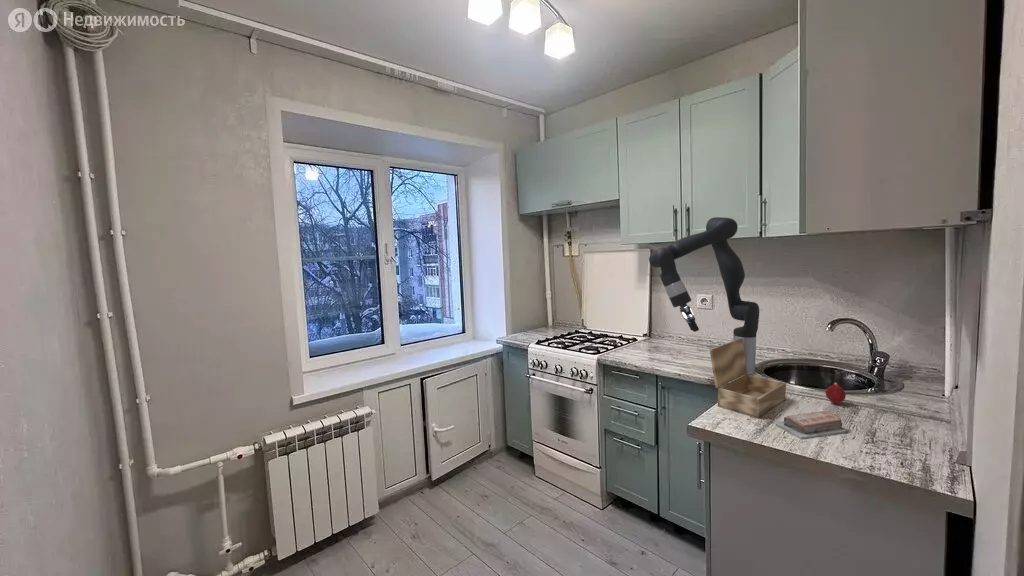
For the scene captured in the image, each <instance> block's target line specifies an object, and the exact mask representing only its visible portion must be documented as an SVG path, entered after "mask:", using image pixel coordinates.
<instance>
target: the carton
mask: <svg viewBox="0 0 1024 576" xmlns="http://www.w3.org/2000/svg"><path fill="white" fill-rule="evenodd" d="M786 395H787V382H784V381H780V380H779V381H778V380H774V379H772V378H766V377H761V376H756V375H753V374H745V375H743V376H741V377H739V378H737V379H735V380H733V381H731V382H729V383H727V384H725V385H723V386H721V387H719V388H717V407H718V408H722V409H724V410H725V409H726V410H729V411H732V412H734V413H739V414H741V415H745V416H747V417H752V418H755V419H760V418H761V417H763V416H764V415H766V414H767V413H769V412H770V411H773V409H775V408H777V407H778V406H780V405H781V404H783V403H784V402H786Z"/></svg>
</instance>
